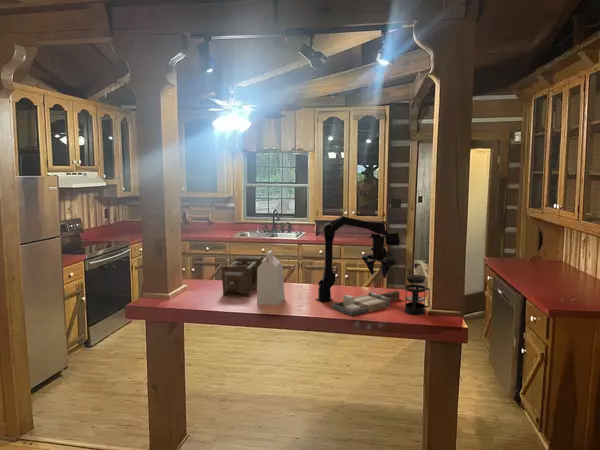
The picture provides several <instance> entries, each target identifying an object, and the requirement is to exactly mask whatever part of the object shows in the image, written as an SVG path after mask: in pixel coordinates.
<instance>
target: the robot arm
mask: <svg viewBox="0 0 600 450" xmlns="http://www.w3.org/2000/svg"><path fill="white" fill-rule="evenodd" d="M344 225H347V226H351V227H355V228H361V229H366V230H369V231H371V233H370V234H369V235H368V238H370V239H372V247H371V248H370V251H372V253H367V254H366V253H365V254H363V255H362V257H361V258H362V259H361V260H362V261H363V262H364V264H365V265H366V267H367V269H368V271H369V273H370V274H371V275H372V276H373V275H374V268H375V267H374V265H375V263H376V262H379V263H381V265H380V269H381V273H382V278H383V279H386V278H387V275H388V272H389V270H390V268H391V267H393V266H394V265H396V260H395V259H394V258H393V255H394V253H393V252H390V251H387V248H386V247H385V245H386V246H387V247H395V246H396V247H398V246H400V241H401V240H400V237H399V236H400V235H399V233H398V231H397V232H388V231H387V230H386V226H385V223H383V222H382V221H379V220H363V219H359V218H358V219H357V218H352V217H349V216H348V217H347V216H344V215H340V216H339V217H338V218H336V219H335V220H332V221H330V222H326V223H324V225H323V226H322V233H323V238H324V268H323V272H322V278H321V280H320V281H318V282H317V285H318V288H317V289H318V298H315V301H318V302H320V303H322V304H323V303H329V302H333V301H334V299H332V298H331V297H332V294H331V288H332V287H333V286H335V283H336V281H337V280H336V276H337V273H336V271H335V270H333V243H334V238H335V235H336V234H335V233H336V231H337V230H339V229H340V228H341V227H343V226H344ZM371 275H370V276H371Z"/></svg>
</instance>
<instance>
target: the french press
mask: <svg viewBox="0 0 600 450" xmlns="http://www.w3.org/2000/svg"><path fill="white" fill-rule="evenodd" d="M410 265H411V266H412V267H414V269H415V273H414V274H407V275H405V278H406V279H407V282H408V283H410V284H408V285H406V286H405V293H408V292H410V293H412V294H411V295H410V296H406V297H405V301H404V302H405V309H404V313H406V314H407V315H408V314H409V315H410V316H411V315H412V316H422V315H425V314H426V308H430V300H431V299H430V293H431V291H430V290H431V289H430V287H426V286H424V285H421V284H423V283H425V282H426V281H425V279H426V276H425V275H421V274H417V268H418V267H419V266H421V264H420V263H411V264H410ZM419 288H420V289H419ZM426 290H428V298H427V299H428V302H427V303H428V305H426V293H425V292H426ZM423 292H424V297H422V296H419V293H423Z"/></svg>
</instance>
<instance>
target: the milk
mask: <svg viewBox="0 0 600 450" xmlns="http://www.w3.org/2000/svg"><path fill="white" fill-rule="evenodd" d="M261 262H262V263H261V264H260V266H259V267H258V269H257V286H256V305H259V306H280V305H281V304H282V302H283V301H284V300H285V297H286V296H285V283H284V272H283V271H284V270H283V263H282V262H281V261H280V260H279V259H278V258H277V257H276V256H274V251H273V250H269V251H267V252H266V257H263V260H262V261H261Z"/></svg>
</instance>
